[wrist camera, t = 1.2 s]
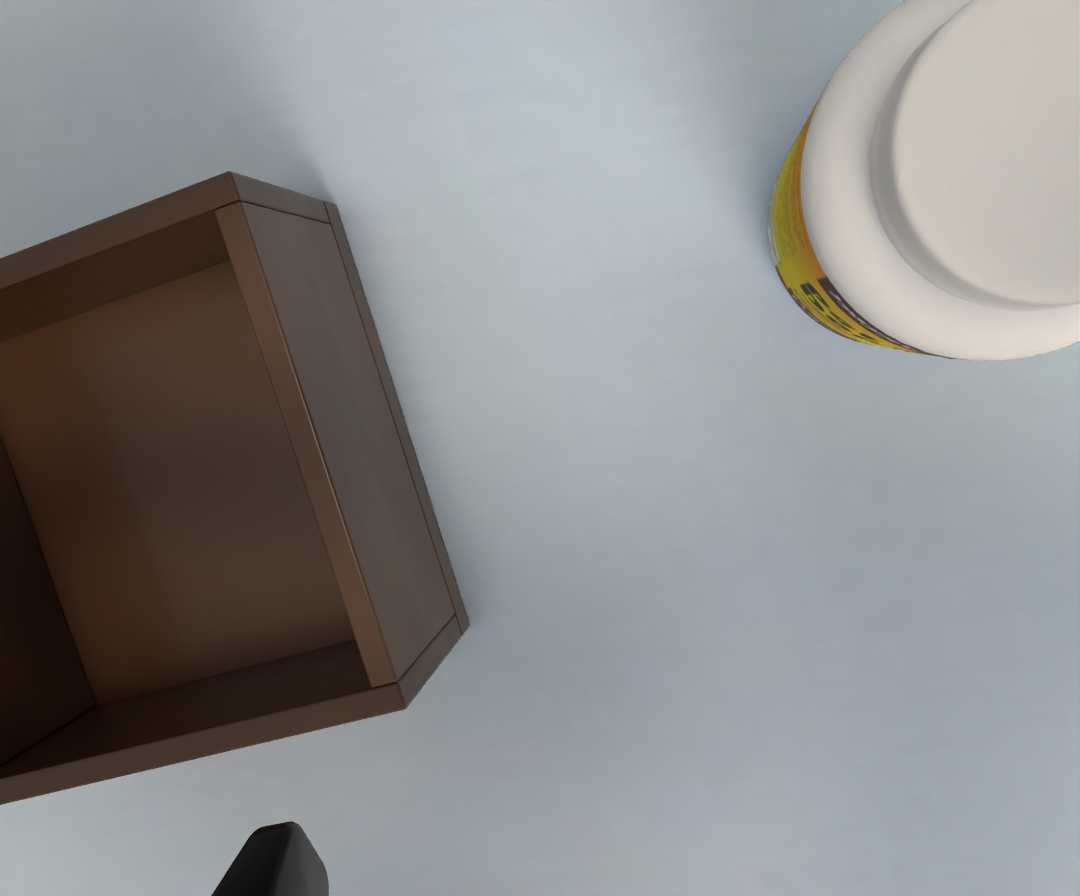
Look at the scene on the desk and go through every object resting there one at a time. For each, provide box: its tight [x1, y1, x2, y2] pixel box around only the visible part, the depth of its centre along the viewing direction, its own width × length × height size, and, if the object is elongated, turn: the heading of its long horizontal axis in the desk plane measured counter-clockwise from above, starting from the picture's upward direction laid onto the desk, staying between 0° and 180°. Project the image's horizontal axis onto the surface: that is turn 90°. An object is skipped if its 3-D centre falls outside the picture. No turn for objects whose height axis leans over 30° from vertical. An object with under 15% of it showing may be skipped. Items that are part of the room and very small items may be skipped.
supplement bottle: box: [768, 0, 1080, 361], centre depth 16 cm, size 6×6×10 cm
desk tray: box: [0, 171, 470, 805], centre depth 22 cm, size 11×11×5 cm
